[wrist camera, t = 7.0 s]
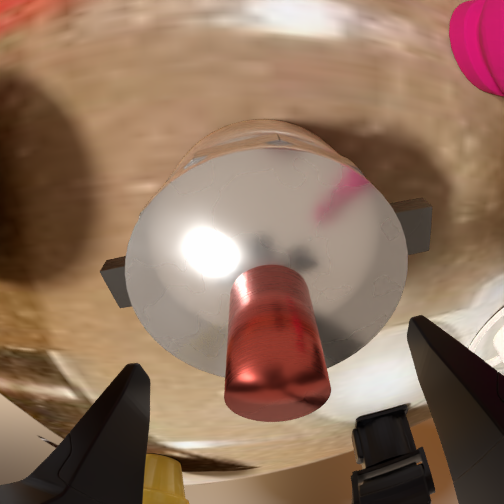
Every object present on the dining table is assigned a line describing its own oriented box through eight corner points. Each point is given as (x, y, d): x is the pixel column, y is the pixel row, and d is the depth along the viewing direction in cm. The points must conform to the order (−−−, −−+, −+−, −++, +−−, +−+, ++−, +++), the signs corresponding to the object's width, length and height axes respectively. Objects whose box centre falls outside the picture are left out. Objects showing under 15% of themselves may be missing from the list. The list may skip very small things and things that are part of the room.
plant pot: (117, 443, 36) (105, 500, 28) (184, 452, 36) (179, 514, 28) (139, 466, 42) (132, 515, 34) (198, 473, 42) (194, 524, 34)
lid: (387, 117, 10) (500, 173, 5) (385, 332, 16) (422, 430, 11) (99, 179, 11) (5, 272, 6) (187, 365, 17) (173, 465, 12)
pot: (386, 99, 14) (449, 119, 9) (392, 265, 20) (429, 329, 15) (103, 161, 16) (47, 206, 11) (166, 307, 22) (147, 377, 17)
